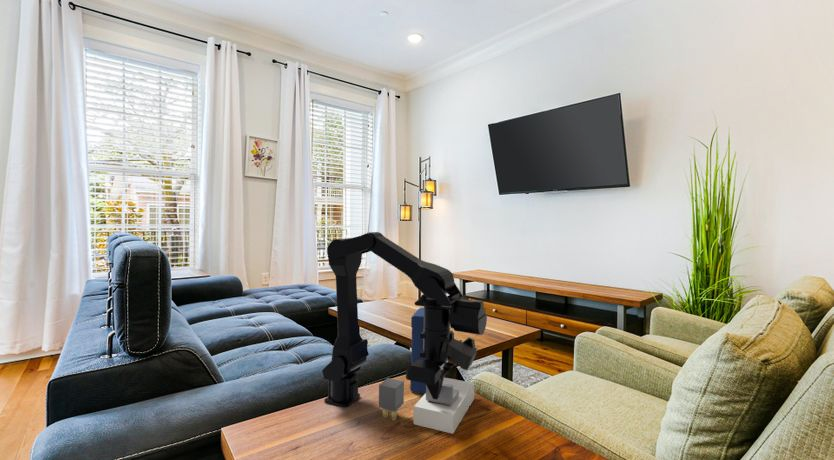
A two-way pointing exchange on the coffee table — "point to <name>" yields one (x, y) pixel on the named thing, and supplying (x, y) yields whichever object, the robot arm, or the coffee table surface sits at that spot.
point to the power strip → (445, 408)
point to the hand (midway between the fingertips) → (435, 398)
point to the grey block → (444, 394)
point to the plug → (391, 396)
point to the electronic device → (417, 347)
